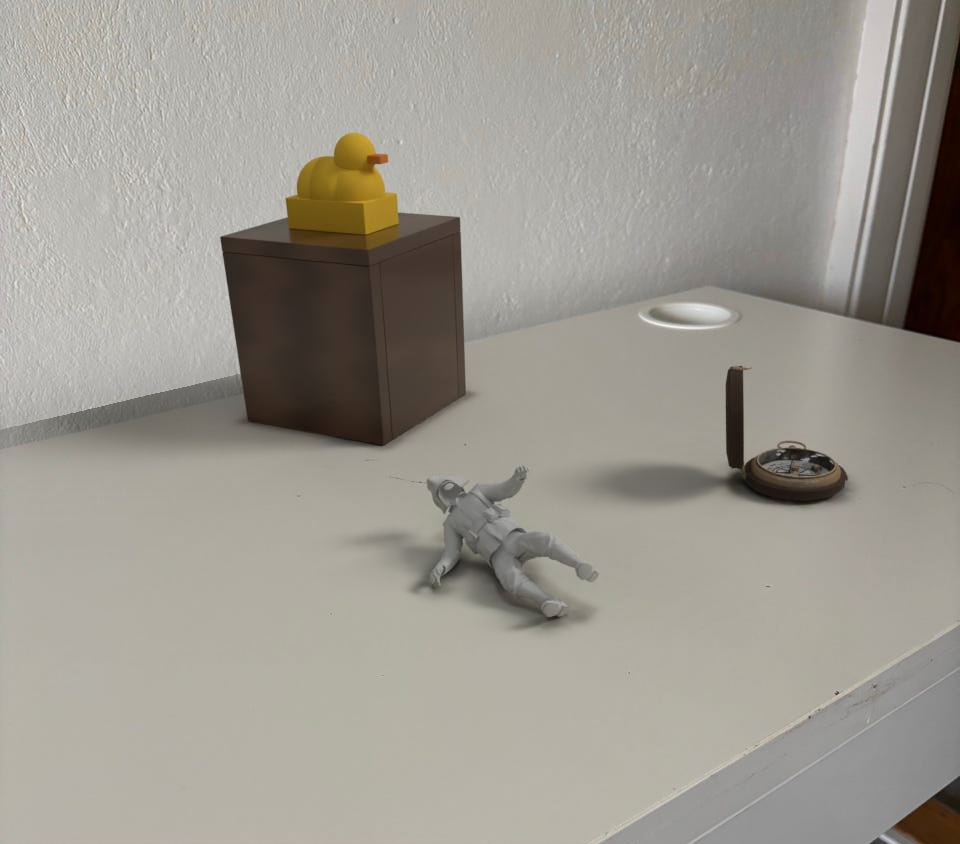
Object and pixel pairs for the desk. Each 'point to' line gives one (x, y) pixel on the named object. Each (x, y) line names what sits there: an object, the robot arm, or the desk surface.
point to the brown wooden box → (348, 325)
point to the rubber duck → (343, 191)
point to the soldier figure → (499, 537)
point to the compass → (777, 457)
